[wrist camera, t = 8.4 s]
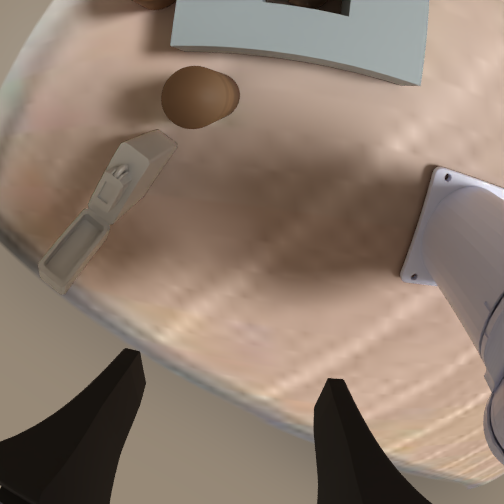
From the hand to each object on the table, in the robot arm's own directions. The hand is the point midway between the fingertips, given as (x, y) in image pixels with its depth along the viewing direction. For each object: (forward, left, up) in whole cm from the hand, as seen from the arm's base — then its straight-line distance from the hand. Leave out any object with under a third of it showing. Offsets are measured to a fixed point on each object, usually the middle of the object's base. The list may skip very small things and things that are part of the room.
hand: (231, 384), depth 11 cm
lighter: (+8, -4, -10) cm, 13 cm away
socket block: (-1, -17, -10) cm, 19 cm away
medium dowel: (+3, -10, -10) cm, 14 cm away
